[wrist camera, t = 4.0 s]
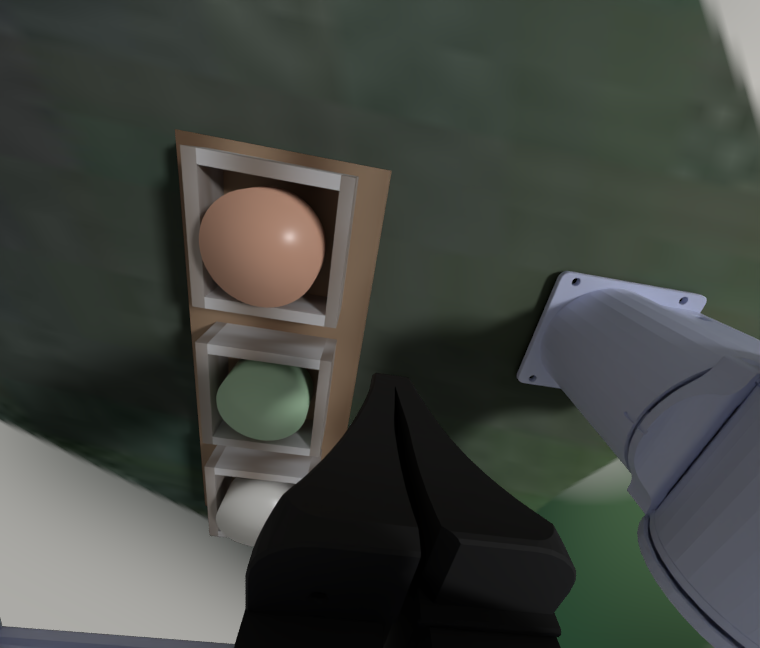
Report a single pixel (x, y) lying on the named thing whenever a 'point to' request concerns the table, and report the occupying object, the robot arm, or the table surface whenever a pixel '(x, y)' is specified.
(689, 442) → the robot arm
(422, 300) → the table surface
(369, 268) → the button board
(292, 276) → the terracotta button
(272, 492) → the grey button
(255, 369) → the sage button
